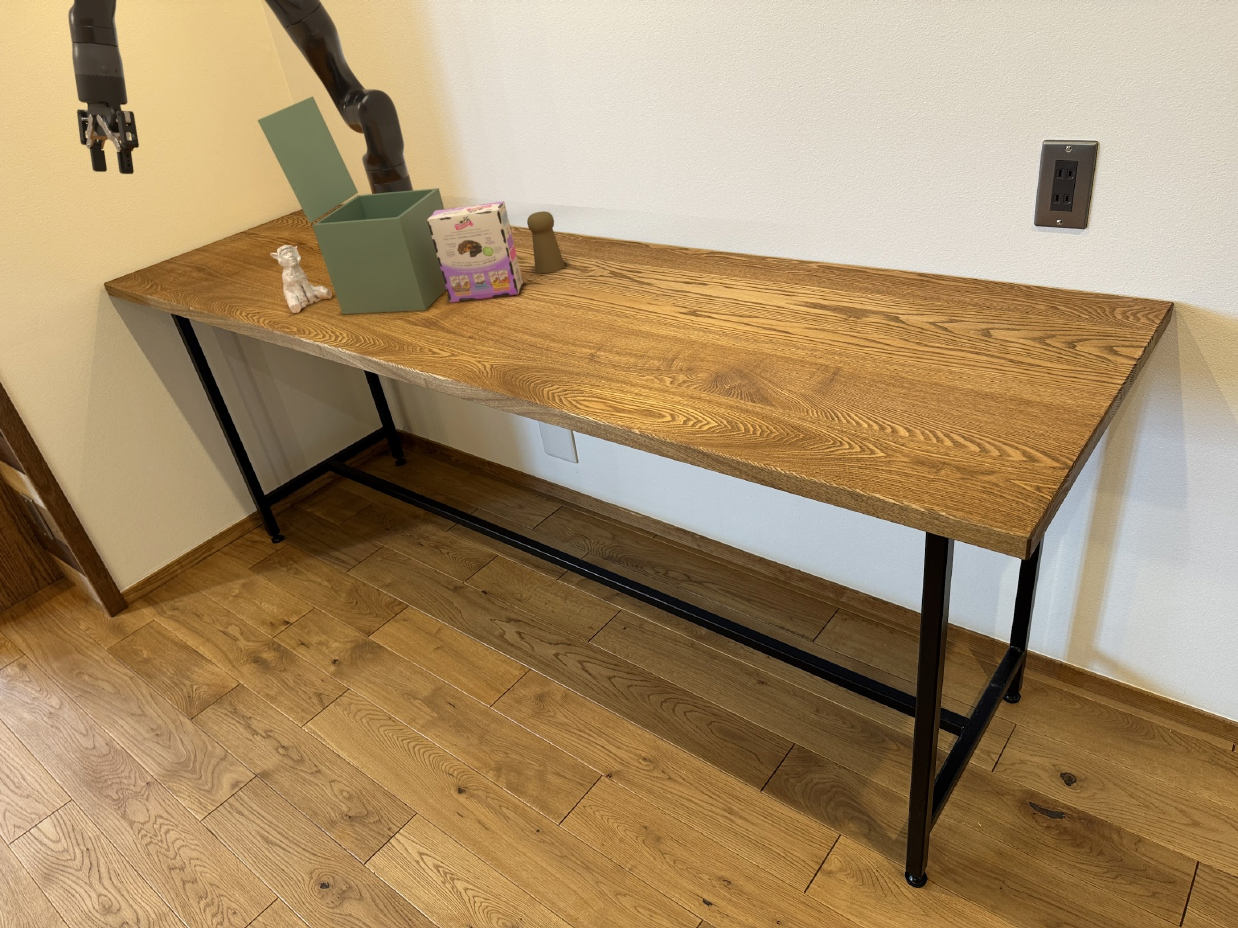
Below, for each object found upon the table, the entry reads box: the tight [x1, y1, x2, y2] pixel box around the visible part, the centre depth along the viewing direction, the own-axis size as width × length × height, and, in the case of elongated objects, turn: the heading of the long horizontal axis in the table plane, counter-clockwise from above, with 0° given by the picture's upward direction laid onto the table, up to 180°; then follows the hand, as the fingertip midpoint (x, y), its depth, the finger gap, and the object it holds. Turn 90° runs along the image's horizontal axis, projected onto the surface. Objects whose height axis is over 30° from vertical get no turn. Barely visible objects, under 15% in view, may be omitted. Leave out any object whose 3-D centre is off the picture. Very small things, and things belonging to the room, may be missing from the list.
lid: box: [257, 95, 359, 224], centre depth 167 cm, size 19×18×5 cm
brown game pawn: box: [526, 210, 565, 274], centre depth 175 cm, size 6×6×11 cm
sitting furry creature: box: [269, 244, 333, 314], centre depth 180 cm, size 10×9×12 cm
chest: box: [311, 187, 447, 315], centre depth 173 cm, size 18×18×18 cm
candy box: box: [427, 200, 524, 303], centre depth 167 cm, size 14×6×16 cm, turn 84°
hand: (113, 172), depth 159 cm, fingers open, 8 cm apart
